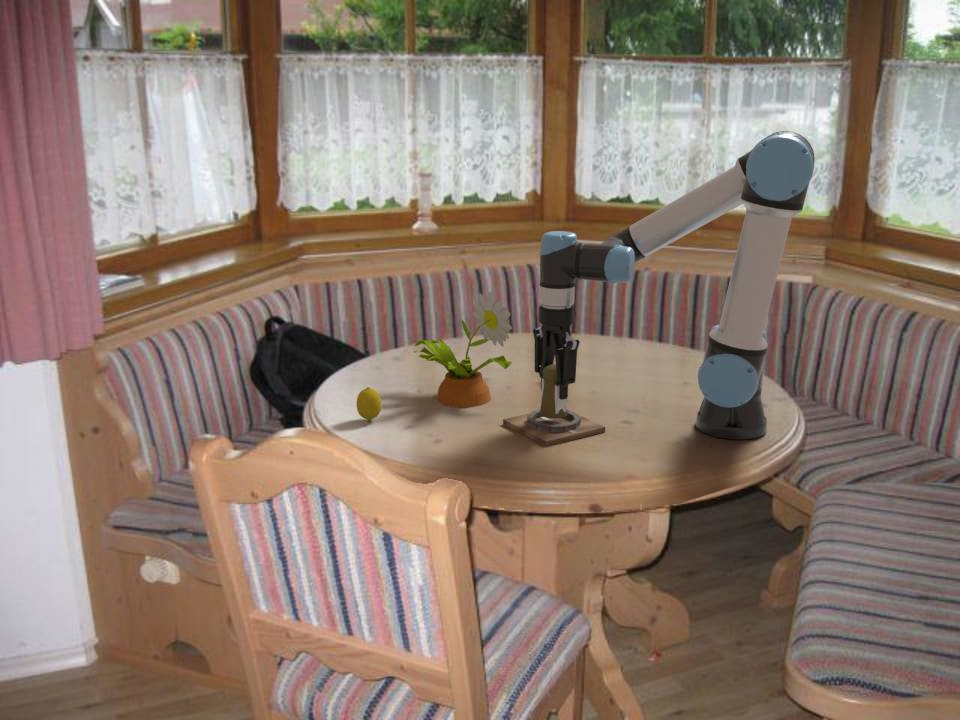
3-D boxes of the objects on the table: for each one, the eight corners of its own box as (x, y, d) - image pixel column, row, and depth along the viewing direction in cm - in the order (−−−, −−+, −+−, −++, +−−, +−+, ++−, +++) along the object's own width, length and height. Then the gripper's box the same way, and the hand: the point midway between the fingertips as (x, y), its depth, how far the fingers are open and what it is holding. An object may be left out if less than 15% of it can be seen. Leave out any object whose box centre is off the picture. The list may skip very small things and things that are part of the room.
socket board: (605, 432, 214) (605, 421, 213) (546, 446, 205) (546, 435, 205) (560, 411, 226) (560, 401, 226) (503, 424, 218) (503, 413, 217)
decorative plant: (532, 400, 234) (534, 297, 227) (459, 424, 218) (458, 315, 211) (455, 376, 253) (455, 280, 246) (382, 396, 237) (379, 295, 230)
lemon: (358, 426, 217) (356, 391, 215) (356, 417, 222) (355, 384, 220) (383, 424, 218) (382, 390, 216) (380, 416, 223) (379, 382, 221)
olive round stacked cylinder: (565, 409, 218) (567, 361, 215) (568, 418, 212) (570, 369, 209) (538, 409, 218) (539, 361, 215) (540, 418, 212) (542, 369, 209)
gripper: (596, 311, 203) (591, 417, 210) (546, 295, 217) (543, 395, 224) (567, 315, 199) (563, 423, 206) (519, 299, 213) (517, 401, 220)
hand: (553, 408), depth 215 cm, fingers closed on olive round stacked cylinder, 4 cm apart
